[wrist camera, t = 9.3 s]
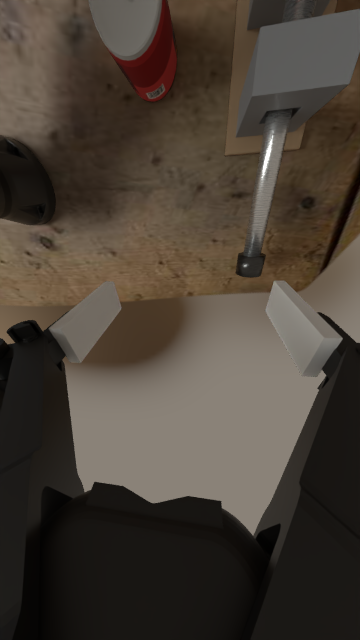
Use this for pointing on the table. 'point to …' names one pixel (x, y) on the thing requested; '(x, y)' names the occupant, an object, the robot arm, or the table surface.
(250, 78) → the bearing frame
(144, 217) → the table surface
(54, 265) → the table surface
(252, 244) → the shaft
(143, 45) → the canned food
